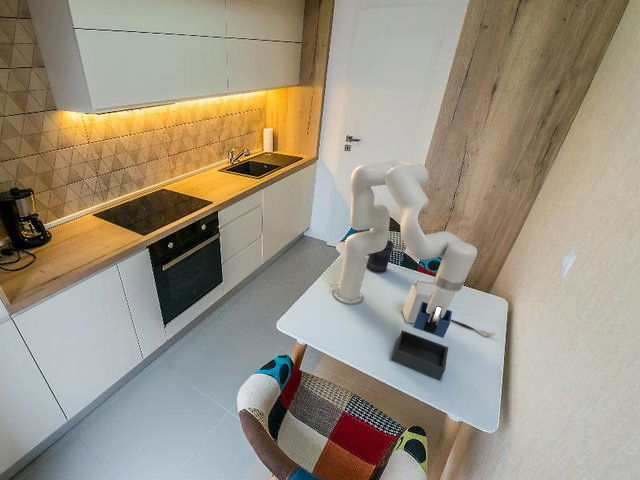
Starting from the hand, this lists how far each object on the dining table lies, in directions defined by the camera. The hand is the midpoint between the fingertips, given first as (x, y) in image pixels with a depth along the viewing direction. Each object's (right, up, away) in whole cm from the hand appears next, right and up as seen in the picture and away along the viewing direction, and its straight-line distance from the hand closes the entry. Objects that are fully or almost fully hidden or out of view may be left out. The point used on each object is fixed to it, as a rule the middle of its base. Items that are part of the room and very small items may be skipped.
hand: (430, 324), depth 107 cm
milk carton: (+9, -3, +27) cm, 29 cm away
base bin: (0, -14, +9) cm, 17 cm away
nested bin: (0, -1, +1) cm, 1 cm away
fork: (+29, -6, +22) cm, 37 cm away
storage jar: (+8, +19, +61) cm, 64 cm away
